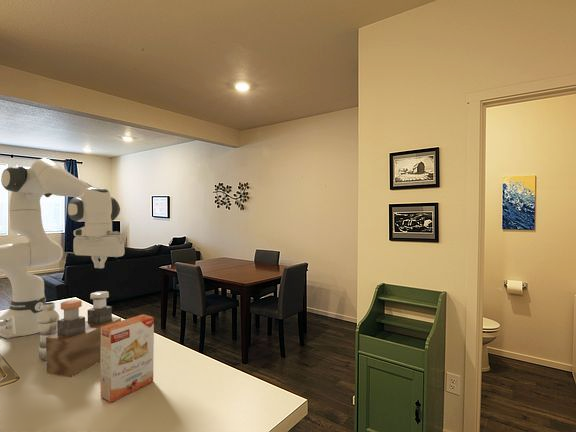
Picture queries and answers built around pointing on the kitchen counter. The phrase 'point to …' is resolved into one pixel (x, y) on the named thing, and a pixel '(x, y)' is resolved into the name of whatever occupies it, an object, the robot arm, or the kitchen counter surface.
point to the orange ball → (71, 309)
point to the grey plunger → (99, 299)
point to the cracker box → (126, 356)
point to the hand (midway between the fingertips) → (99, 267)
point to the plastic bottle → (47, 326)
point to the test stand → (77, 343)
